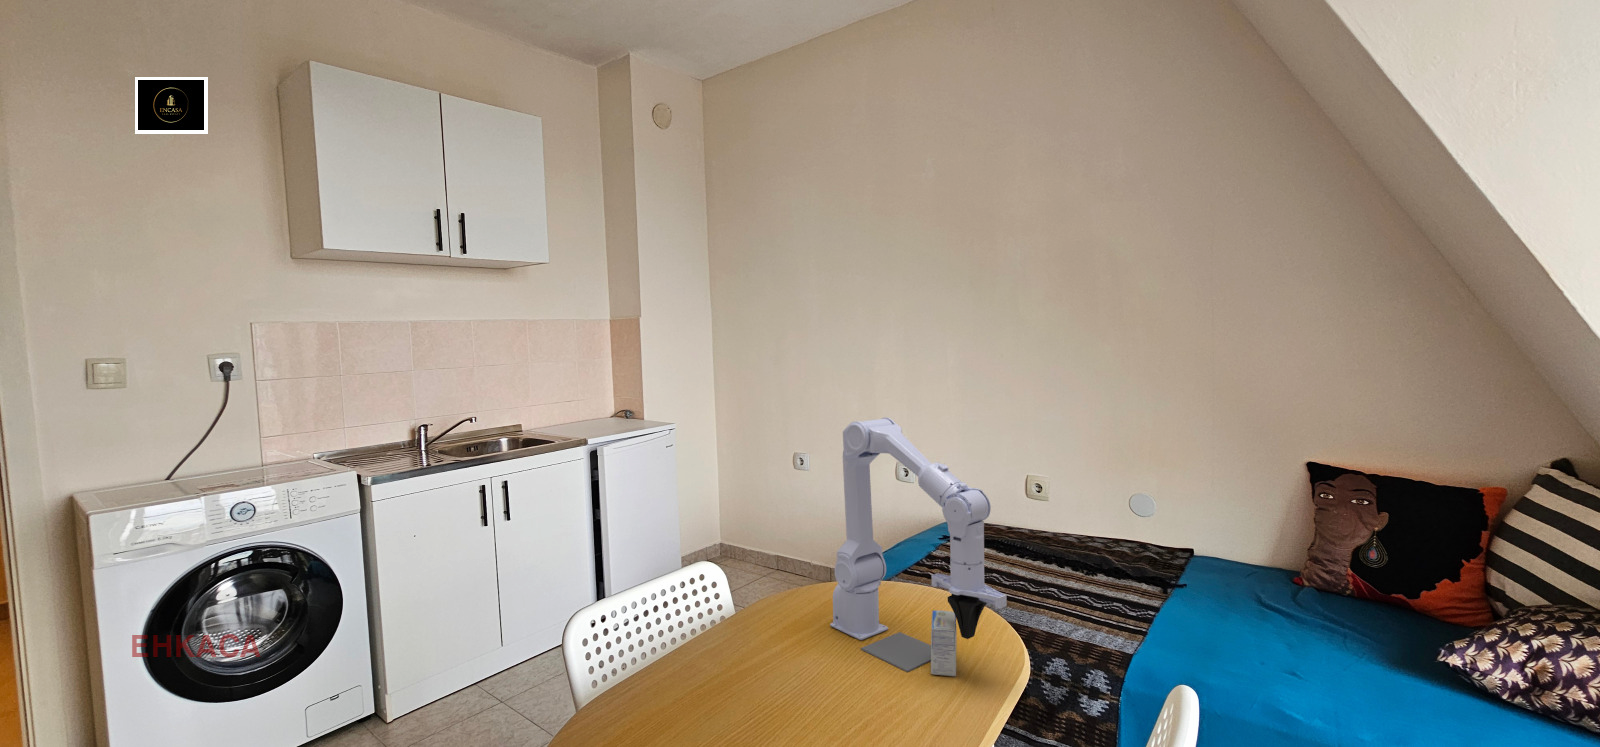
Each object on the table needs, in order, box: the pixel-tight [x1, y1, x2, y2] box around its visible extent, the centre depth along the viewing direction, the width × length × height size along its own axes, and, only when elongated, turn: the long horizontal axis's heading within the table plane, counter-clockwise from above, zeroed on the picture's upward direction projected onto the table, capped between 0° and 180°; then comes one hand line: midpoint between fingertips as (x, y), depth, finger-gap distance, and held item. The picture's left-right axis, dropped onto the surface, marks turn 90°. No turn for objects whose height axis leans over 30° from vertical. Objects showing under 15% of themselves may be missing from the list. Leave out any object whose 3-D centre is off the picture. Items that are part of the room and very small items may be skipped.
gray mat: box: [860, 631, 931, 673], centre depth 129 cm, size 12×11×1 cm
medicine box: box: [930, 609, 957, 677], centre depth 123 cm, size 8×4×9 cm, turn 168°
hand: (967, 636), depth 118 cm, fingers closed
